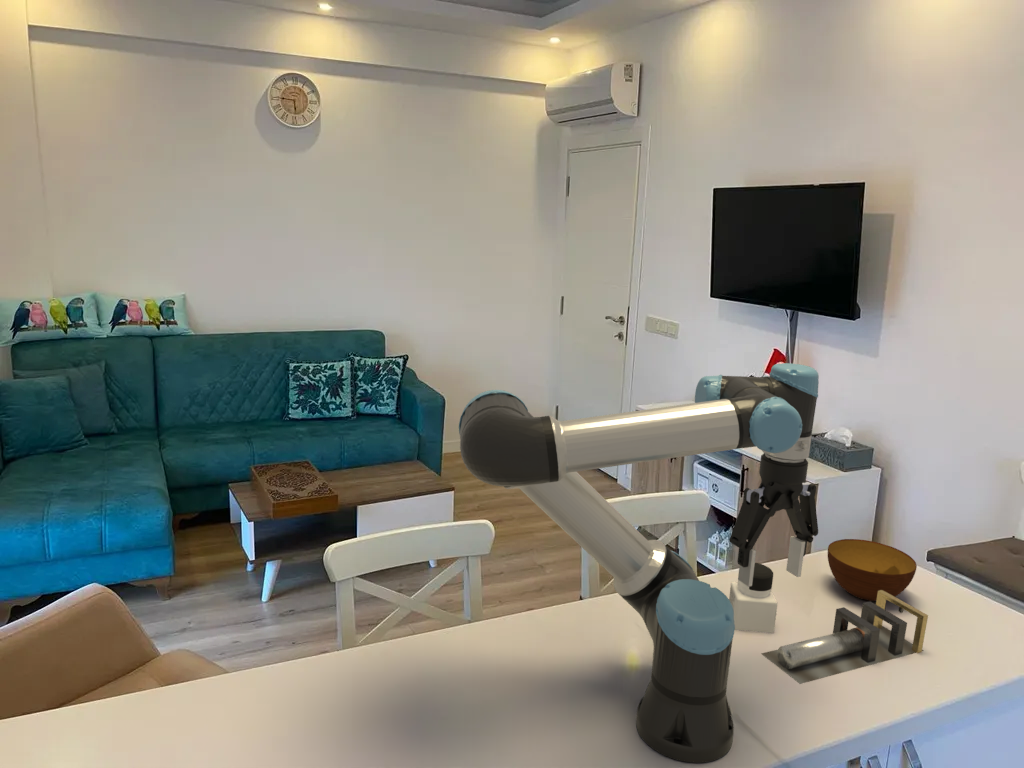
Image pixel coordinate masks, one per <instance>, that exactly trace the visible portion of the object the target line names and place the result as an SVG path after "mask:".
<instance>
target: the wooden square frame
mask: <svg viewBox="0 0 1024 768" xmlns="http://www.w3.org/2000/svg"><path fill="white" fill-rule="evenodd" d="M887 601H888V602H890V603H892V604H893V605H894V606H897V607H898V612H899V613H900V614H902V613H904V611H906V612H908V613H909V614H911V615H913V616H915V617H916V624H915V630H914V635H913V640H912V641H913V642H912V644H913V646H912V651H914V652H916V653H915V654H920V653H922V652H923V651H922V650H923V647H924V643H925V642H924V640H925V634H926V630H927V623H928V618H929V617H928V616H929V615H928V614H927V613H925V612H923V611H921V610H920V609H918V608H916V607H914V606H912V605H910V604H908V603H906V602H905V601H903V600H901V599H899V598H898V597H897V596H896V597H894V596H892V595H891V594H889V593H887V592H885V591H883V590H880V591H878V594H877V600H876V601H875V604H876V605H877V606H879V607H881V608H883V609H884V610H886V609H885V608H886V603H887ZM883 621H884V620H882V619H880V618H879V617H877V616H875V618H874V624H873V625H874V626H876V627H877V628H882V626H883Z"/></svg>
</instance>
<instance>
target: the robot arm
mask: <svg viewBox="0 0 1024 768" xmlns="http://www.w3.org/2000/svg"><path fill="white" fill-rule="evenodd" d="M818 398H819V372H818V370H817V369H815V368H814V367H811V366H808V365H805V364H798V363H789V362H788V363H786V362H785V363H784V362H781V363H776V364H774V365H772V367H771V370H770V372H769V374H768V376H744V375H743V376H741V375H740V376H738V375H737V376H736V375H723V374H719V375H706V376H702V377H701V378H700V379H699V381H698V383H697V385H696V388H695V392H694V402H692V403H685V404H678V405H677V404H676V405H670V406H669V405H668V406H663V407H657V408H649V409H642V410H641V409H639V410H634V411H633V410H632V411H625V412H618V413H612V414H611V413H610V414H604V415H598V416H597V415H595V416H589V417H588V416H587V417H583V418H582V417H581V418H575V419H568V420H567V419H565V420H558V419H557V418H555V417H554V416H552V415H545V416H533V415H532V414H531V412H529V410H528V407H527V406H526V403H525V402H524V401H523V400H522V399H521V398H519V397H518V396H517V395H515V394H513V393H512V392H509V391H506V390H502V389H491V390H487V391H486V390H485V391H483V392H480V393H478V394H477V395H475V396H474V397H473V398H471V399H470V400H469V401H468V402H467V404H466V405H465V407H464V409H463V410H462V413H461V415H460V418H459V421H458V422H459V423H458V434H459V439H460V442H459V443H460V444H459V445H460V446H459V449H460V456H461V459H462V462H463V464H464V466H465V468H466V469H467V470H468V471H469V472H470V474H471V475H473V477H475V478H476V479H478V480H479V481H480V482H482V483H485V484H488V485H491V486H497V487H503V488H505V489H507V490H513V489H519V490H520V491H521V492H522V493H523V494H525V496H527V498H529V499H530V500H531V502H533V503H534V504H535V505H536V506H537V507H538V508H539V509H540V510H542V512H544V514H546V515H547V517H549V518H550V519H551V520H552V521H553V522H554V523H555V524H556V525H558V527H559V528H561V529H562V530H563V531H564V532H565V533H566V534H567V535H568V536H569V537H570V538H571V539H572V540H574V542H575V543H577V544H578V545H579V546H580V547H581V549H583V550H584V551H585V552H586V553H587V554H588V555H589V556H590V557H592V558H593V559H594V560H595V561H596V562H597V563H598V564H599V565H600V566H601V567H602V568H603V569H604V570H605V571H607V573H608V574H609V575H611V576H612V577H613V589H614V591H615V592H616V593H617V594H618V595H619V596H620V597H621V598H622V599H623V600H624V601H625V602H627V603H628V604H629V606H631V608H632V609H634V610H635V611H636V612H637V613H638V615H639V616H640V617H641V618H642V620H643V622H644V624H645V627H646V629H647V631H648V633H649V636H650V637H651V639H652V643H653V644H652V645H653V650H652V651H653V653H652V662H651V663H652V664H651V676H650V680H649V682H648V685H647V687H646V689H645V693H644V695H643V696H642V697H641V699H640V700H639V703H638V706H637V711H636V720H635V722H636V723H635V725H636V730H637V732H638V734H639V736H640V738H641V739H642V740H643V741H644V742H645V743H646V744H647V745H648V746H649V747H651V749H653V750H654V751H656V752H658V753H659V754H661V755H664V757H668V758H671V759H673V760H676V761H681V762H685V763H695V764H697V763H699V764H700V763H701V764H702V763H708V762H712V761H715V760H719V759H720V758H722V757H724V756H725V755H727V754H728V752H729V751H730V750H731V747H732V745H733V739H734V731H735V730H734V729H735V728H734V721H733V718H732V713H731V709H730V706H729V700H728V697H727V687H728V679H729V671H730V663H731V662H730V661H731V656H732V646H733V638H734V635H735V631H736V630H735V625H734V610H733V606H732V604H731V602H730V600H729V598H728V596H727V595H726V594H725V593H724V592H723V591H721V590H720V589H719V588H717V587H711V585H710V584H709V583H707V582H705V581H701V580H700V579H699V578H698V576H697V575H696V573H695V571H694V569H693V567H692V565H690V563H689V562H688V561H687V560H686V559H685V558H684V557H683V556H681V555H680V554H678V553H677V552H675V551H673V550H672V549H670V548H669V547H668V546H667V545H666V544H664V543H663V542H662V541H661V540H658V539H649V540H648V539H647V538H646V537H645V536H644V535H643V534H642V533H640V532H639V530H638V529H636V528H635V526H633V524H632V523H630V522H629V521H628V520H627V518H625V517H624V516H623V515H622V514H621V513H620V512H619V511H618V510H617V509H616V508H615V507H614V506H613V505H611V504H610V502H608V501H607V499H605V498H604V496H602V494H600V493H599V492H598V490H596V488H594V487H593V486H592V485H591V484H590V483H589V482H588V481H587V480H586V479H585V478H584V477H582V475H580V473H579V472H581V471H589V470H596V469H603V468H604V469H605V468H611V467H618V466H624V465H625V466H626V465H634V464H639V463H646V462H654V461H659V460H667V459H675V458H676V459H677V458H682V457H688V456H689V457H690V456H697V455H703V454H710V453H717V452H724V451H731V450H738V449H739V450H740V449H747V448H757V449H759V450H760V451H762V454H761V455H760V461H759V462H760V463H759V471H758V472H759V476H760V479H761V481H760V484H759V486H758V488H755V489H751V488H749V487H745V488H744V490H743V496H742V497H743V499H742V503H741V506H740V509H739V512H738V515H737V518H736V520H735V523H734V526H733V528H732V532H731V535H730V538H729V542H730V544H732V545H734V546H736V547H737V548H738V554H737V564H738V565H739V566H738V567H739V568H738V575H737V576H738V577H737V581H738V580H739V581H741V582H742V583H744V584H745V585H747V586H748V587H749V586H752V582H753V573H754V565H755V563H756V554H757V550H756V549H754V546H755V545H756V543H757V541H758V540H759V538H760V536H761V534H762V532H763V531H764V529H765V527H766V526H767V524H768V522H769V520H770V518H772V517H774V516H775V515H776V513H777V512H780V511H781V510H785V512H786V514H787V517H788V519H789V522H790V525H791V527H792V530H793V532H794V535H795V536H794V535H793V536H792V535H791V536H790V538H789V544H788V545H789V547H788V555H787V563H786V569H785V570H786V572H788V573H790V574H792V575H793V576H795V577H797V578H799V577H801V576H802V568H803V562H804V557H805V556H806V553H807V547H808V543H812V542H813V541H814V537H817V536H818V534H819V524H818V514H817V507H816V492H817V485H816V484H814V483H811V482H809V481H806V480H807V475H808V469H809V468H808V467H809V461H808V460H807V459H808V458H809V456H810V451H811V444H812V435H813V427H814V421H815V414H816V409H817V408H816V407H817V400H818ZM764 506H765V507H766V508H765V507H764Z"/></svg>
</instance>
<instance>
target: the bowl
mask: <svg viewBox="0 0 1024 768" xmlns="http://www.w3.org/2000/svg"><path fill="white" fill-rule="evenodd" d="M827 561H828V566H829V569H830V571H831V573H832V575H833V578H834V579H835V581H836V582H837V584H838V585H839V586H840V587H841V589H843V590H845V591H846V592H847V593H848V594H850V595H852V596H854V597H856V598H857V599H861V600H865V601H867V602H870V601H871V602H876V600H877V594H878V591H880V590H883V591H885V592H887V593H889V594H891V595H892V596H894V597H896V598H897V596H899V595H900V594H901V593H903V591H905V590H906V589H907V588H908V587H909V585H910V584H911V582H912V581H913V579H914V577H915V574H916V572H917V567H918V566H917V562H916V561H915V559H914V558H912V556H910V555H909V554H908V553H906V552H904V551H902V550H900V549H898V548H896V547H893V546H892V545H891V546H890V545H887V544H884V543H881V542H877V541H871V540H865V539H858V538H857V539H856V538H844V539H839V540H838V539H837V540H835V541H832V542H831V543H829V545H828V547H827Z"/></svg>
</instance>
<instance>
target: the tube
mask: <svg viewBox="0 0 1024 768" xmlns="http://www.w3.org/2000/svg"><path fill="white" fill-rule="evenodd" d="M864 635H865V632H864V631H863V630H861V629H859V628H858V627H856V626H855V627H853V628H850V629H847V630H846V631H842V632H838V633H834V634H833V633H830V634H827V635H826V634H825V635H822V636H819V637H814V638H809V639H806V640H801V641H798V642H793V643H790V644H789V643H788V644H786V645H780V647H778V649H777V650H778V659H779V661H780V663H781V665H782V666H783V667H784V668H786V669H792V668H796V667H799V666H803V665H807V664H811V663H815V662H818V661H822V660H826V659H830V658H834V657H838V656H841V655H845V654H849V653H853V652H857V651H862V648H863V641H864Z"/></svg>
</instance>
